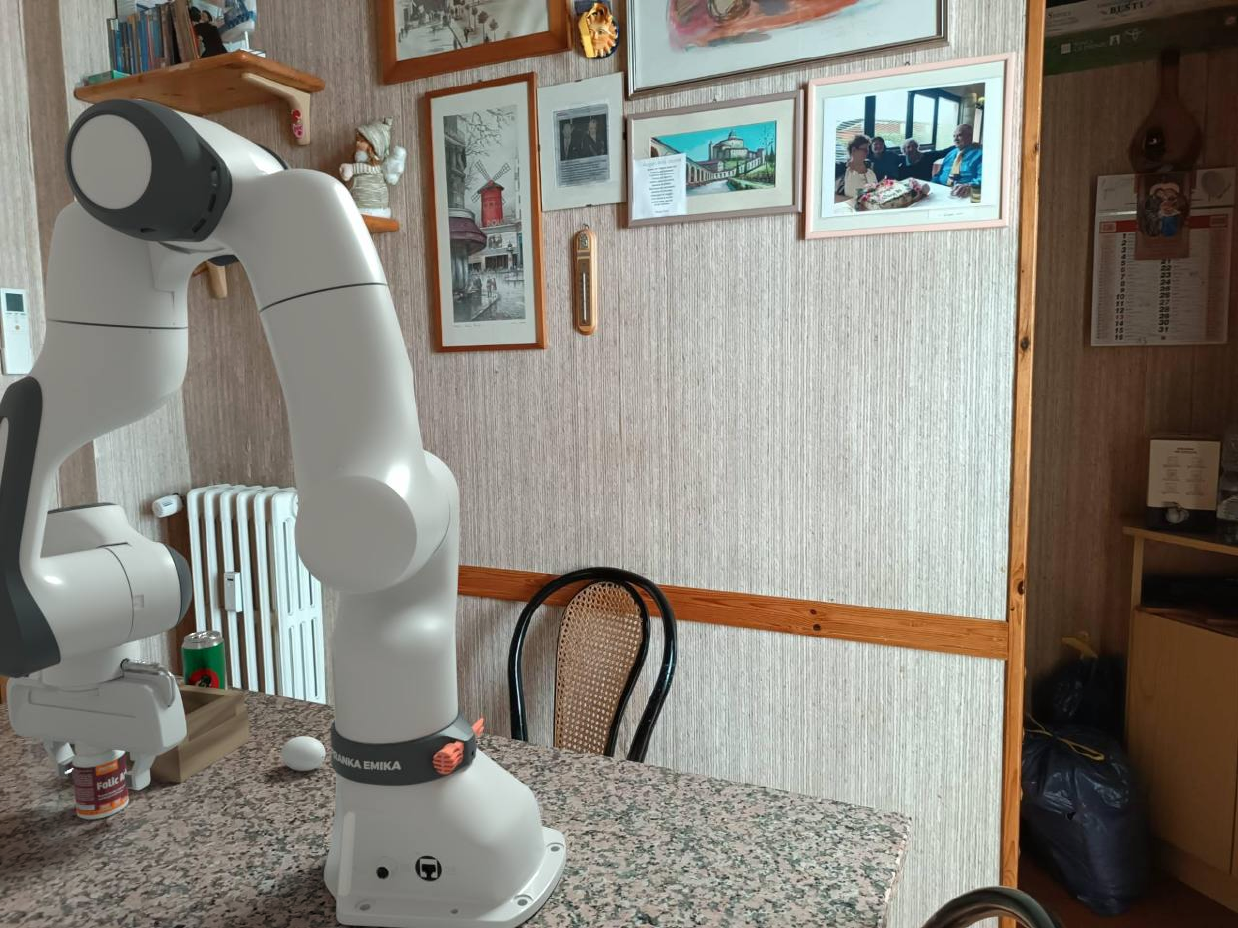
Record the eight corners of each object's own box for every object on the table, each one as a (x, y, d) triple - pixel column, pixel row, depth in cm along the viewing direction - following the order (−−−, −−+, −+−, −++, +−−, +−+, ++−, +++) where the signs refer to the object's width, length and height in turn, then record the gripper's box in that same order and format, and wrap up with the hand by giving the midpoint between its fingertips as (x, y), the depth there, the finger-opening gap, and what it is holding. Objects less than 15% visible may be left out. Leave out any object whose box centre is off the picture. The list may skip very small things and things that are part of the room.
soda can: (237, 719, 108) (231, 633, 106) (201, 733, 103) (194, 644, 102) (215, 711, 110) (209, 627, 109) (179, 725, 106) (172, 637, 105)
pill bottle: (104, 822, 83) (97, 745, 82) (65, 818, 84) (58, 742, 83) (140, 798, 87) (134, 725, 86) (103, 794, 88) (96, 722, 87)
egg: (314, 780, 91) (312, 748, 91) (271, 772, 93) (269, 741, 93) (336, 764, 95) (334, 733, 94) (294, 757, 97) (292, 727, 96)
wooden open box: (250, 740, 101) (246, 690, 101) (181, 782, 91) (176, 728, 90) (179, 730, 104) (176, 682, 104) (105, 770, 94) (100, 717, 93)
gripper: (196, 653, 84) (205, 778, 85) (47, 638, 89) (58, 756, 91) (146, 675, 78) (156, 809, 79) (-11, 658, 83) (2, 783, 85)
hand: (102, 781), depth 85 cm, fingers open, 8 cm apart
